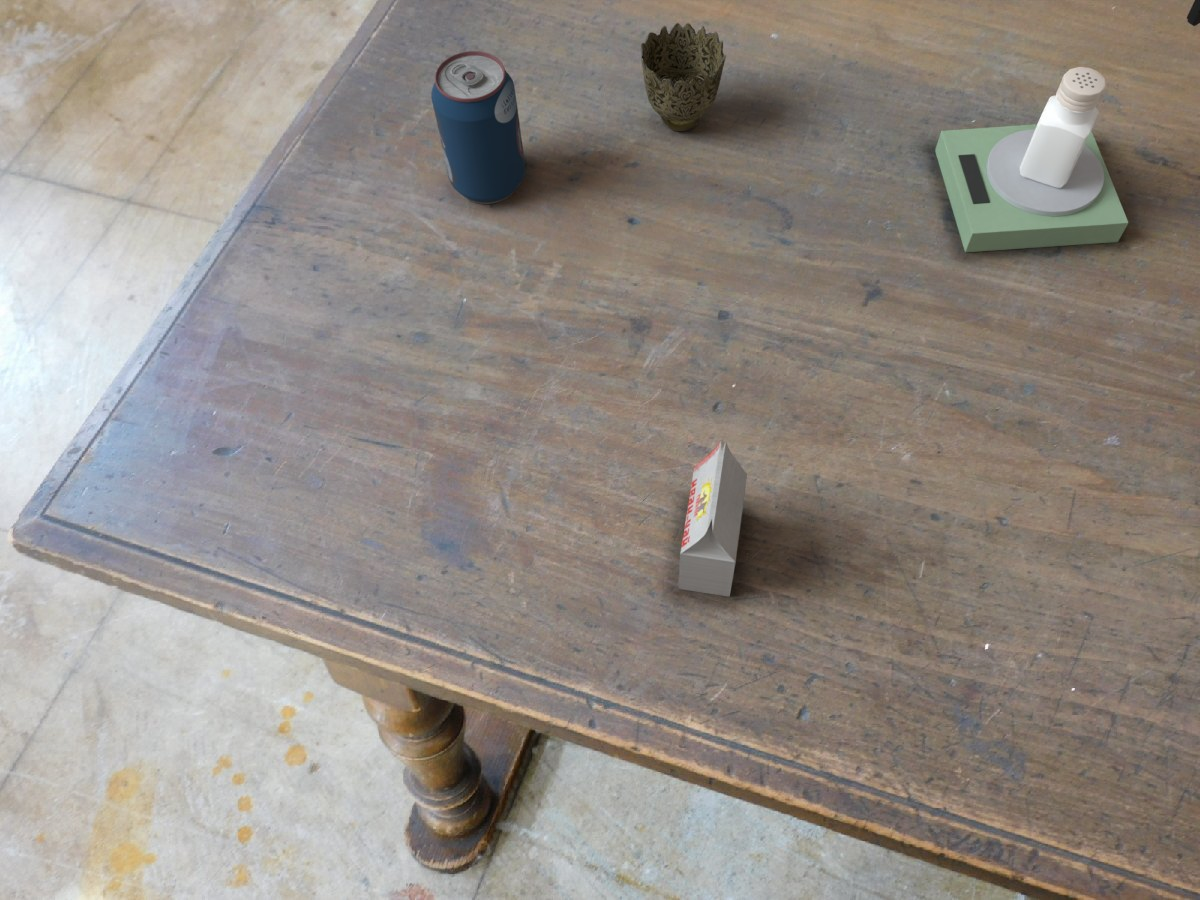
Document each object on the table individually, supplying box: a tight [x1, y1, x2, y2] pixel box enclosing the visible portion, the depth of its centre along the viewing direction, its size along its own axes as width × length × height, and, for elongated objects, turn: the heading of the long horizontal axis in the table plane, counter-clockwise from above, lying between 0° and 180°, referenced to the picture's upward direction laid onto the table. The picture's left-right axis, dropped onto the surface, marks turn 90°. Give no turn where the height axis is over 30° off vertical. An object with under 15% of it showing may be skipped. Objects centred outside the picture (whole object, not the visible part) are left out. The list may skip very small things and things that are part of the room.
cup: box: [640, 22, 727, 132], centre depth 97 cm, size 8×7×8 cm
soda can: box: [431, 50, 526, 205], centre depth 92 cm, size 7×7×12 cm
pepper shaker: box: [1020, 66, 1106, 188], centre depth 88 cm, size 4×4×10 cm
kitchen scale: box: [934, 123, 1129, 253], centre depth 93 cm, size 13×12×3 cm
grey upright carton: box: [677, 440, 748, 597], centre depth 74 cm, size 4×7×10 cm, turn 169°
